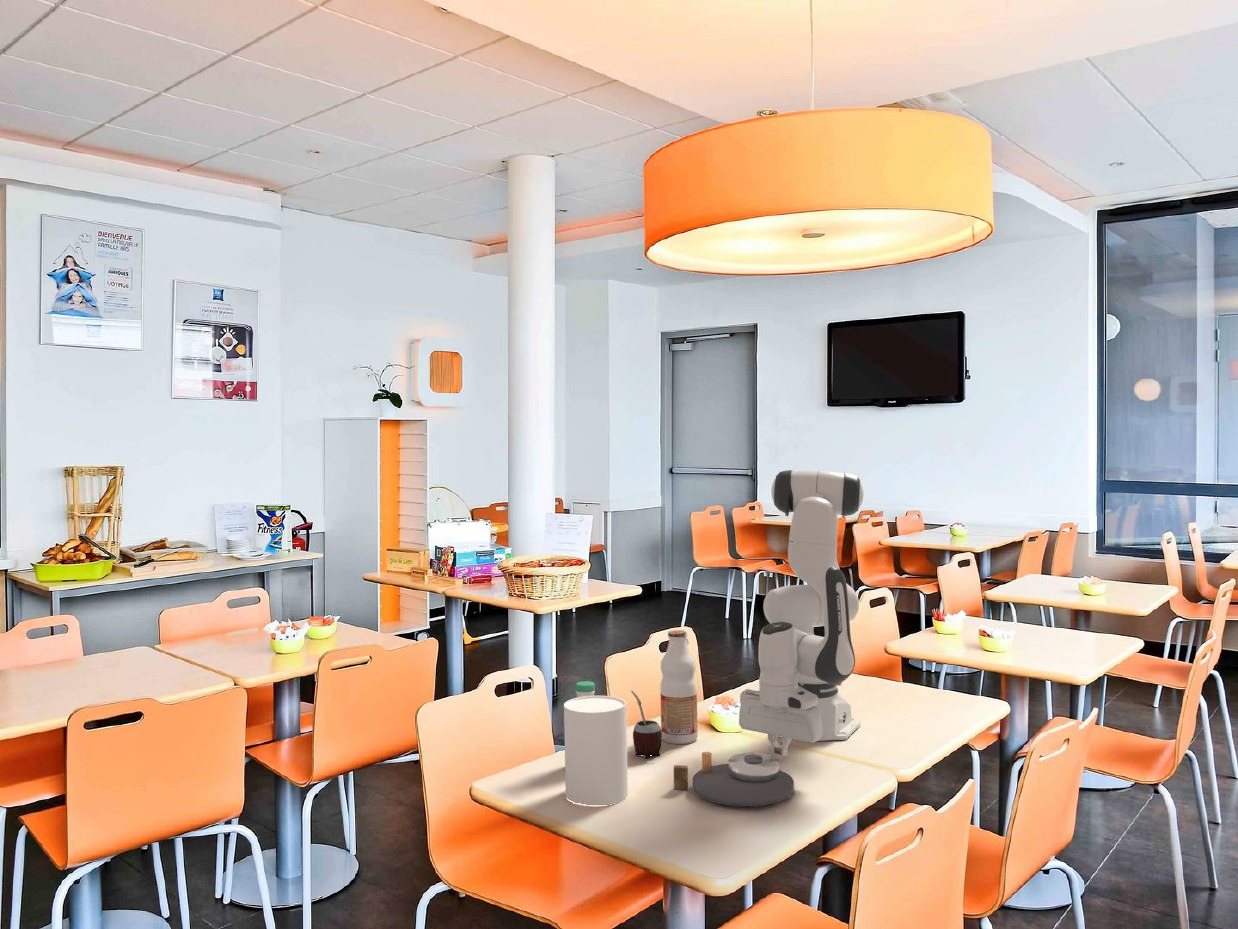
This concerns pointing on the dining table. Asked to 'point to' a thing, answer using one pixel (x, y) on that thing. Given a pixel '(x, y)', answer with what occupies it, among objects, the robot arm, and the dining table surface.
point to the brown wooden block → (680, 778)
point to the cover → (753, 768)
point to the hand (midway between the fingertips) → (780, 754)
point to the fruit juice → (678, 692)
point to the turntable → (738, 786)
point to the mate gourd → (647, 736)
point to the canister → (596, 750)
